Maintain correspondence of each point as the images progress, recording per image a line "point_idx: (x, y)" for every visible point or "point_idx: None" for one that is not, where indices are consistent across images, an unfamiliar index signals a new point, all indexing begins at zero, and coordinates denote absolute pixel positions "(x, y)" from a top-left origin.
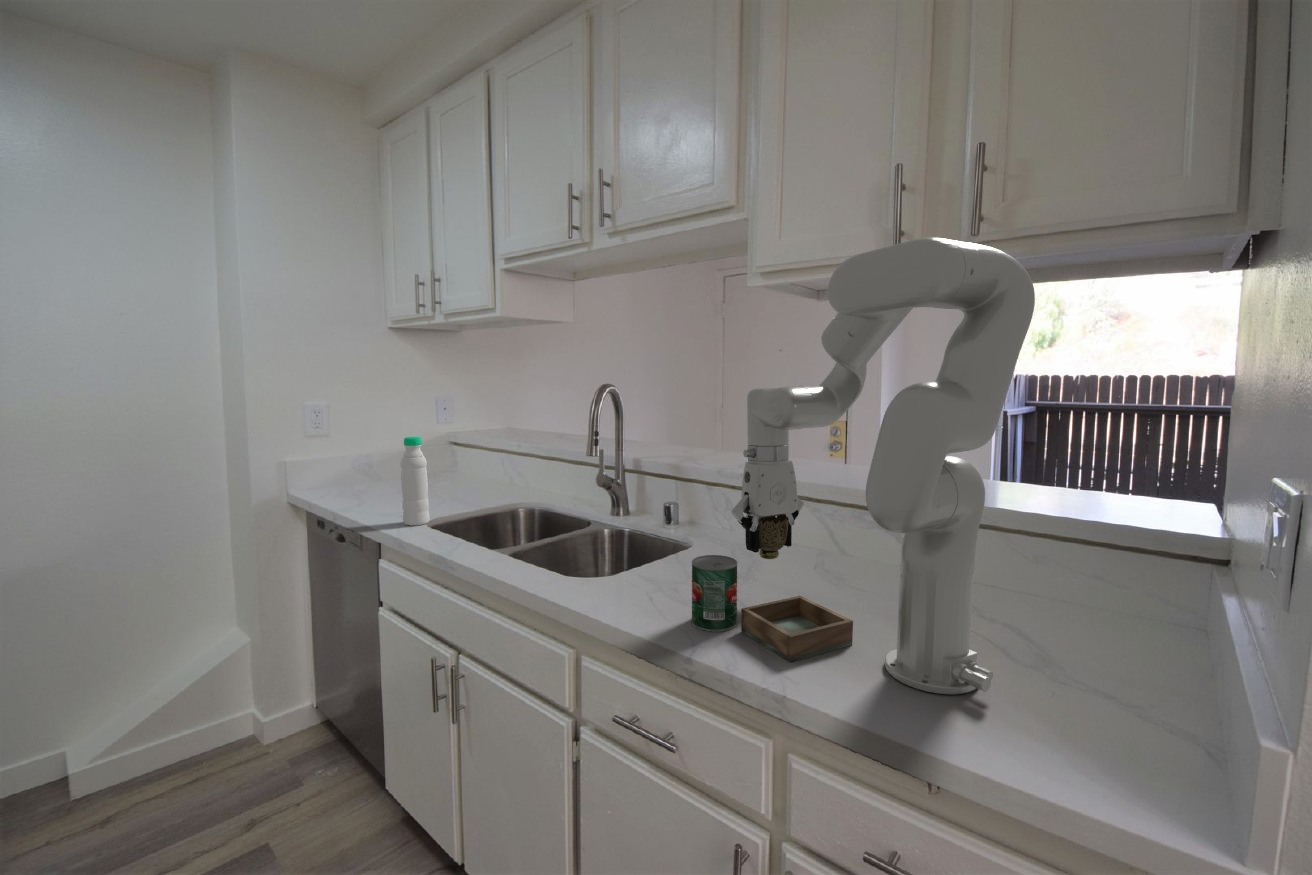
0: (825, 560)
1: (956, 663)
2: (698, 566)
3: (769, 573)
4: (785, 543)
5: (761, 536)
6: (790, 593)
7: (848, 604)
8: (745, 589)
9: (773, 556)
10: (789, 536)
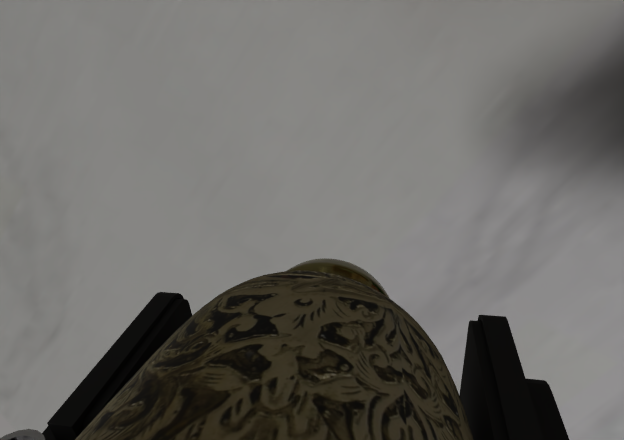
0: (3, 356)
1: None
2: None
3: None
4: None
5: (460, 421)
6: (243, 206)
7: (88, 2)
8: None
9: (340, 262)
10: (134, 344)
